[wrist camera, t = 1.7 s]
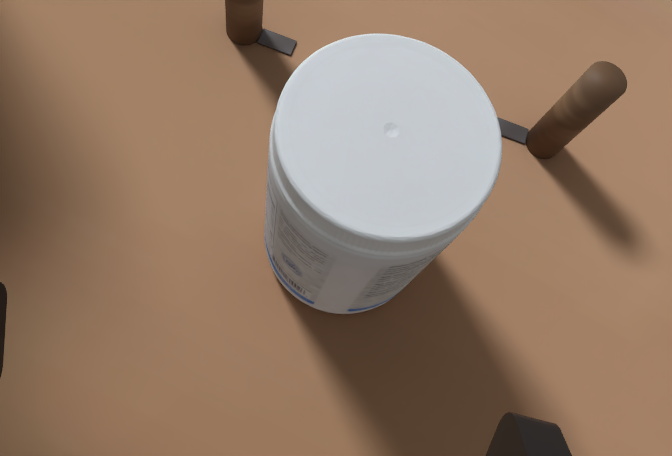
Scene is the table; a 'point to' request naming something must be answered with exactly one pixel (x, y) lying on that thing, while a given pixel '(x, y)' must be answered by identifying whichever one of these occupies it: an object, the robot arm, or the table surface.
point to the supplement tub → (374, 168)
